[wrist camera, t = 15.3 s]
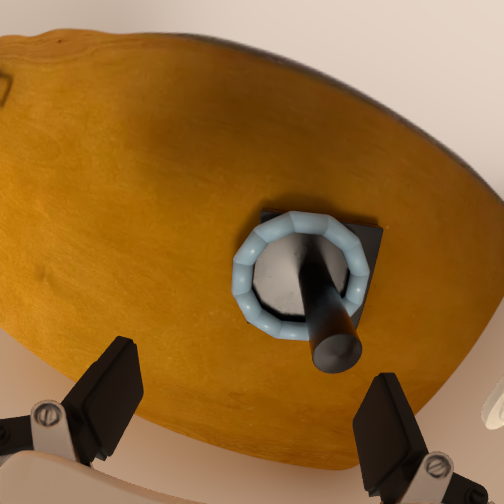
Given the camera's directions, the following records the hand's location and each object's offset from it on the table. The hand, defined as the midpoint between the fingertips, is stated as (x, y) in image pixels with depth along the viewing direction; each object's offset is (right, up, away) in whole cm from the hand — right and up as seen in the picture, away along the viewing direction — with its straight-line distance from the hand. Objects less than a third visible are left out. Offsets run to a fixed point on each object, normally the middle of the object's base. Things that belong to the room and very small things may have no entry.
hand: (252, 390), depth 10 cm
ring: (+3, +3, +10) cm, 11 cm away
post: (+5, +4, +12) cm, 13 cm away
